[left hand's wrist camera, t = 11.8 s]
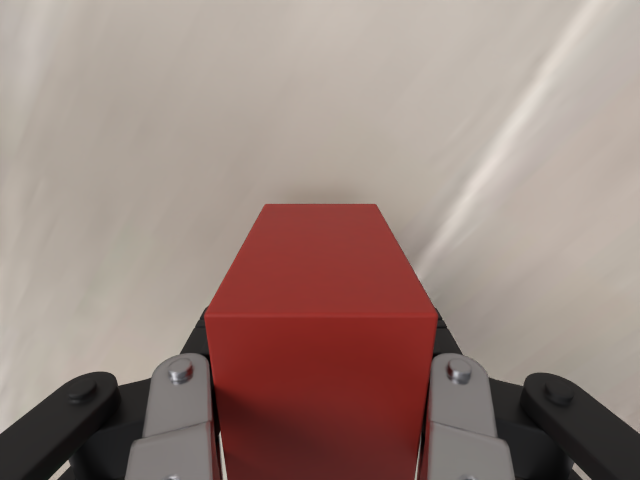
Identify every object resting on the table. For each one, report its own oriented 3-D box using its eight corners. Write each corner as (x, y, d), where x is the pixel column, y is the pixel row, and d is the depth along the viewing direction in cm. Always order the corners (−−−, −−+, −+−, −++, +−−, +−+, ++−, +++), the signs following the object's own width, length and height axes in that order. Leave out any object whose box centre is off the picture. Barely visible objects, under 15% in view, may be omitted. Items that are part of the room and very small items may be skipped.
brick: (376, 203, 14) (440, 314, 7) (368, 327, 17) (410, 516, 9) (264, 203, 14) (201, 314, 7) (271, 327, 17) (231, 516, 9)
